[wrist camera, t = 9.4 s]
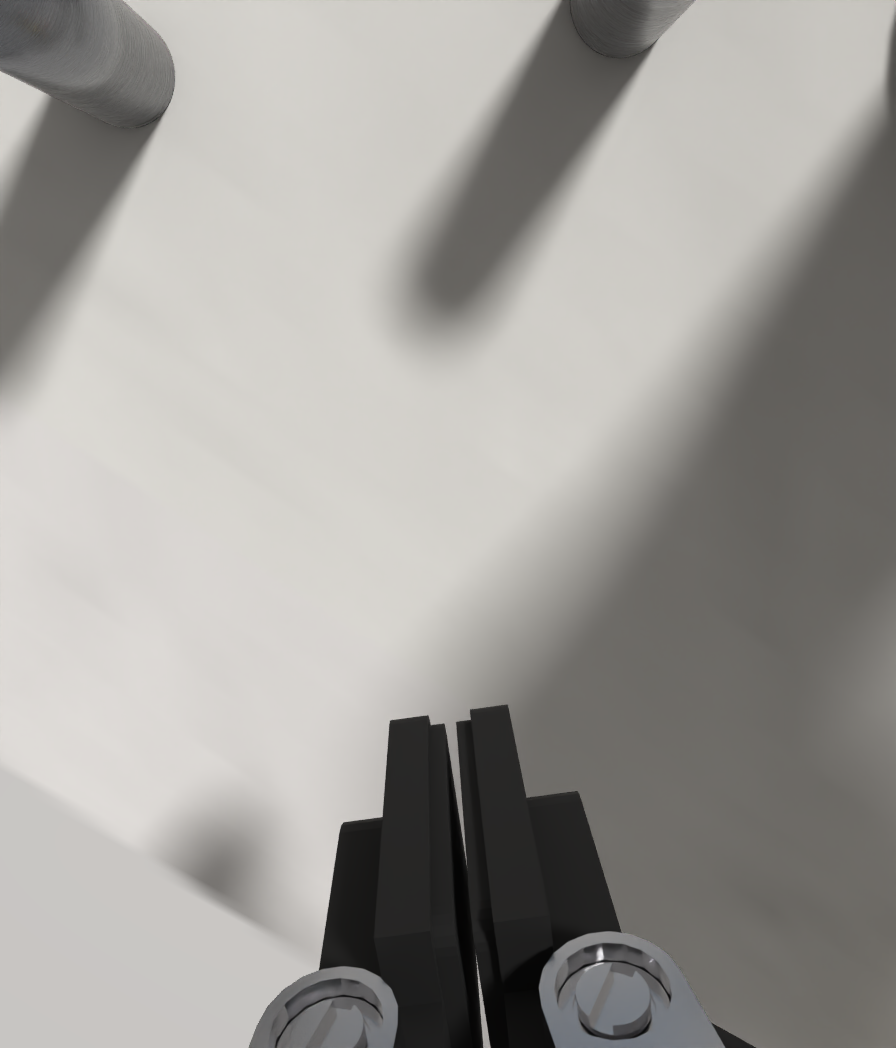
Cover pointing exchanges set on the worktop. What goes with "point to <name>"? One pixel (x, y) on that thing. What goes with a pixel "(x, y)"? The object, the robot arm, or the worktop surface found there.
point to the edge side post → (89, 57)
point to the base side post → (624, 23)
